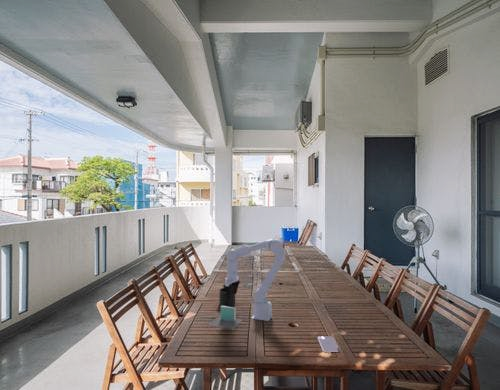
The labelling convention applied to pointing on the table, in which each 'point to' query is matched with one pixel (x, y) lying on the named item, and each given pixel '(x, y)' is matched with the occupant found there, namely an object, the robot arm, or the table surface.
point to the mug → (226, 299)
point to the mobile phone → (328, 344)
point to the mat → (225, 323)
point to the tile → (228, 313)
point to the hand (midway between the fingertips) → (231, 295)
